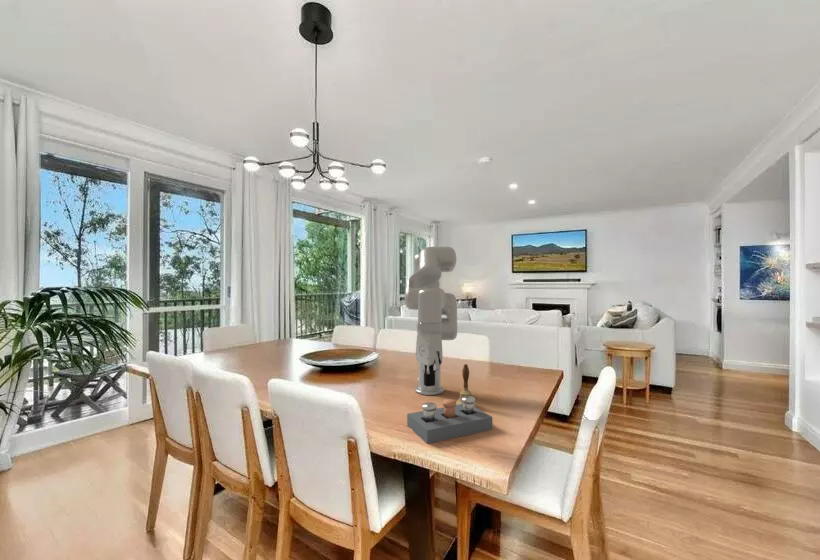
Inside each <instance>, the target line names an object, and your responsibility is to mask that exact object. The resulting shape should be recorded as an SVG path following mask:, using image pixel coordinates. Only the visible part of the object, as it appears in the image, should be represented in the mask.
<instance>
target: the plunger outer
mask: <svg viewBox="0 0 820 560" xmlns="http://www.w3.org/2000/svg"><path fill="white" fill-rule="evenodd" d="M436 409H437V404H436V403H435V402H424V403H422V411H424V421H425V422H427V423H429V422H434V421H435V410H436Z"/></svg>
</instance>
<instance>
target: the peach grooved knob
mask: <svg viewBox="0 0 820 560" xmlns="http://www.w3.org/2000/svg"><path fill="white" fill-rule="evenodd" d="M456 403H457V401H456V400H455V399H452V398H451V399H450V398H446V399H442V406H443V407H444V417H445V418H447V419H449V418H454V417H455V406H456Z"/></svg>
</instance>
